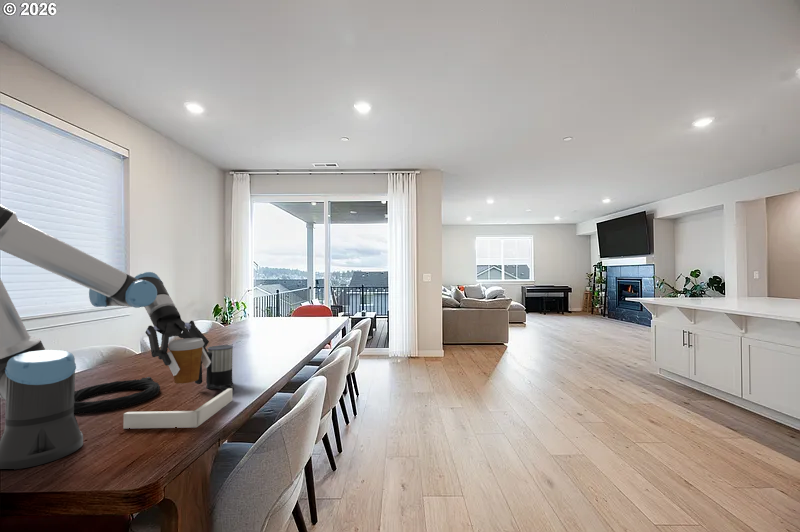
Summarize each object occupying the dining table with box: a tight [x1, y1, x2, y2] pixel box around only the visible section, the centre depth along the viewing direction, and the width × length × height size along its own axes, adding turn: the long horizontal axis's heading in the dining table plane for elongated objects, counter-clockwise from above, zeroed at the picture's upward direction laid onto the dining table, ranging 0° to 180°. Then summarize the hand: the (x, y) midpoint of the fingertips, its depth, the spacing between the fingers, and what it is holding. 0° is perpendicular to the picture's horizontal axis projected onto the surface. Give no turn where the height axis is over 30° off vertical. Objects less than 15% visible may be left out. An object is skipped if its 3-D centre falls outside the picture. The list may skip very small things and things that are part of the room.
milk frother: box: [194, 344, 235, 391], centre depth 136 cm, size 14×16×15 cm
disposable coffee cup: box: [168, 338, 204, 385], centre depth 109 cm, size 10×10×12 cm
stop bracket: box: [122, 388, 233, 430], centre depth 111 cm, size 22×20×4 cm
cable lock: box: [74, 376, 161, 414], centre depth 126 cm, size 28×4×30 cm
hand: (193, 368), depth 108 cm, fingers closed on disposable coffee cup, 9 cm apart
